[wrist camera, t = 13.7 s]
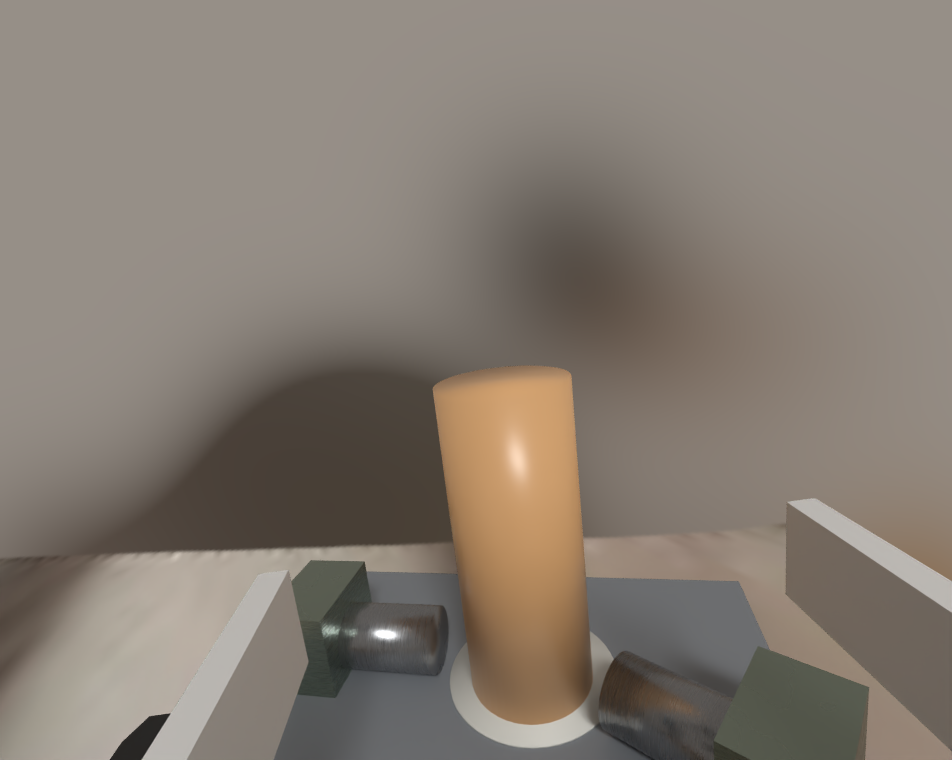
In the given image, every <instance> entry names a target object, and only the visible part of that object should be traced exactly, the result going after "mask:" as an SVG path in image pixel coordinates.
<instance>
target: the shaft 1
mask: <svg viewBox="0 0 952 760" xmlns="http://www.w3.org/2000/svg"><path fill="white" fill-rule="evenodd" d="M291 583H292V588H293V593H294V597H295V602H296V606H297V611H298V616H299V620H300V625H301V629H302V634H303V639H304V643H305V648H306V652H307V657H308V665H307V668H306V670H305V673H304V676H303V679H302V682H301V684H300V687H299V690H298V693H297V695H306V696H317V697H328V698H336V697H337V695H338V693H339V692H340V690H341V688H342V686H343V685H344V683H345V681H346V680H347V678H348V676H349V674H350V673H351V671H352V669H359V670H372V671H385V672H398V673H411V674H424V675H439V674H440V672H441V670H442V668H443V666H444V663H445V659H446V654H447V648H448V637H449V626H448V617H447V612H446V609H445V607H444V606H442V605H424V604H400V603H376V602H372V600H371V594H370V589H369V583H368V578H367V572H366V567H365V562H360V561H313V560H311V561H310V562H309V563H308V564H307V565H306V566H305V567H304V569H303V570H302V571H301V572H300V573H299V574H298V575H297V576H296V577H295V578H294V579H293V580H292V582H291Z"/></svg>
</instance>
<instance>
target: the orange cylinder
mask: <svg viewBox="0 0 952 760" xmlns="http://www.w3.org/2000/svg"><path fill="white" fill-rule="evenodd" d="M433 394H434V401H435V408H436V416H437V423H438V431H439V438H440V446H441V453H442V461H443V467H444V475H445V483H446V490H447V498H448V505H449V513H450V520H451V528H452V535H453V543H454V550H455V557H456V565H457V572H458V580H459V587H460V595H461V602H462V609H463V617H464V624H465V632H466V639H467V646H468V654H469V661H470V669H471V676H472V684H473V688H474V691H475V694H476V696H477V698H478V699H479V701H480V702H481V703H482V704H483V706H484V707H485V708H486V709H488V710H489V711H490V712H491V713H493V714H494V715H496V716H498V717H499V718H502V719H504V720H506V721H510V722H513V723H517V724H523V725H539V724H546V723H551V722H554V721H557V720H560V719H562V718H564V717H566V716H568V715H569V714H571V713H573V712H574V711H575V710H576V709H578V708H579V707H580V706H581V705H582V703H583V702H584V701H585V700H586V698H587V697H588V695H589V693H590V690H591V687H592V683H593V669H592V655H591V641H590V627H589V614H588V600H587V586H586V572H585V559H584V545H583V532H582V519H581V505H580V490H579V477H578V463H577V450H576V435H575V422H574V408H573V396H572V380H571V374H570V373H569V372H568V371H566V370H563V369H559V368H555V367H547V366H508V367H498V368H490V369H483V370H477V371H472V372H468V373H464V374H460V375H456V376H453V377H450V378H447V379H445V380H443V381H441V382H439V383H438V384H436V385H435V386H434V388H433Z"/></svg>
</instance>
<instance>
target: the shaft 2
mask: <svg viewBox="0 0 952 760" xmlns="http://www.w3.org/2000/svg"><path fill="white" fill-rule="evenodd" d="M868 697H869V687H867V686H864V685H861V684H859V683H856V682H853V681H851V680H848V679H845V678H843V677H840V676H837V675H835V674H832V673H829V672H827V671H824V670H821V669H819V668H816V667H813V666H810V665H808V664H805V663H802V662H800V661H797V660H794V659H792V658H789V657H786V656H784V655H781V654H778V653H776V652H773V651H770V650H768V649H765V648H762V647H760V646H758V647H757V649H756V651H755V653H754V655H753V657H752V659H751V662H750V664H749V666H748V668H747V670H746V672H745V674H744V677H743V679H742V681H741V683H740V685H739V687H738V689H737V692H736V694H735V696H734V698H731V697H729V696H727V695H724V694H722V693H720V692H718V691H715V690H713V689H711V688H709V687H707V686H704V685H702V684H700V683H698V682H695V681H693V680H691V679H689V678H687V677H684V676H682V675H680V674H678V673H676V672H673V671H671V670H669V669H667V668H664V667H662V666H660V665H658V664H656V663H653V662H651V661H649V660H647V659H644V658H642V657H640V656H638V655H636V654H633V653H631V652H629V651H622V652H620V653H619V654H618V655H617V656H616V657H615V658H614V660H613V661H612V663H611V665H610V667H609V669H608V671H607V673H606V675H605V678H604V681H603V684H602V688H601V692H600V697H599V705H598V717H599V722H600V725H601V727H602V729H604V730H605V731H607V732H609V733H610V734H612V735H614V736H615V737H617V738H619V739H621V740H622V741H624V742H626V743H627V744H629V745H631V746H633V747H634V748H636V749H638V750H639V751H641V752H643V753H645V754H646V755H648V756H650V757H651V758H653V759H655V760H865V751H866V733H867V715H868Z"/></svg>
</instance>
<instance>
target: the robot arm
mask: <svg viewBox="0 0 952 760" xmlns="http://www.w3.org/2000/svg"><path fill="white" fill-rule="evenodd" d="M786 595H787V596H788V597H789V598H790V599H791V600H792V601H793V602H794V603H795V604H797V605H798V606H799V607H800V608H801V609H802V610H803V611H804V612H805V613H806V614H807V615H808V616H809V617H810V618H811V619H812V620H813V621H815V622H816V623H817V624H818V625H819V626H820V627H821V628H822V629H823V630H824V631H825V632H826V633H827V634H828V635H829V636H830V637H831V638H833V639H834V640H835V641H836V642H837V643H838V644H839V645H840V646H841V647H842V648H843V649H844V650H845V651H846V652H847V653H848V654H849V655H851V656H852V657H853V658H854V659H855V660H856V661H857V662H858V663H859V664H860V665H861V666H862V667H863V668H864V669H865V670H866V671H867V672H869V673H870V674H871V675H872V676H873V677H874V678H875V679H876V680H877V681H878V682H879V683H880V684H881V685H882V686H883V687H884V688H885V689H887V690H888V691H889V692H890V693H891V694H892V695H893V696H894V697H895V698H896V699H897V700H898V701H899V702H900V703H901V704H902V705H903V706H905V707H906V708H907V709H908V710H909V711H910V712H911V713H912V714H913V715H914V716H915V717H916V718H917V719H918V720H919V721H920V722H921V723H922V724H924V725H925V726H926V727H927V728H928V729H929V730H930V731H931V732H932V733H933V734H934V735H935V736H936V737H937V738H938V739H939V740H940V741H942V742H943V743H944V744H945V745H946V746H947V747H948V748H949V749H950V750H951V751H952V581H950V580H949V579H947V578H945V577H944V576H942V575H940V574H939V573H937V572H935V571H934V570H932V569H930V568H929V567H927V566H925V565H924V564H922V563H921V562H919V561H917V560H916V559H914V558H912V557H911V556H909V555H907V554H906V553H904V552H903V551H901V550H899V549H898V548H896V547H894V546H893V545H891V544H889V543H888V542H886V541H884V540H883V539H881V538H879V537H878V536H876V535H875V534H873V533H871V532H870V531H868V530H866V529H865V528H863V527H861V526H860V525H858V524H856V523H855V522H853V521H852V520H850V519H848V518H846V517H845V516H843V515H842V514H840V513H838V512H837V511H835V510H833V509H832V508H830V507H829V506H827V505H825V504H824V503H822V502H820V501H819V500H817V499H815V498H812V499H805V500H798V501H790V502H787V519H786ZM307 665H308V657H307V652H306V648H305V643H304V639H303V634H302V629H301V625H300V620H299V616H298V611H297V606H296V602H295V597H294V593H293V588H292V583H291V579H290V574H289V570H285V571H278V572H270V573H263V574H258V576H257V577H256V579H255V581H254V582H253V584H252V585H251V587H250V589H249V590H248V592H247V593H246V595H245V597H244V598H243V600H242V601H241V603H240V604H239V606H238V608H237V609H236V611H235V612H234V614H233V616H232V617H231V619H230V620H229V622H228V623H227V625H226V627H225V628H224V630H223V631H222V633H221V635H220V636H219V638H218V639H217V641H216V643H215V644H214V646H213V647H212V649H211V650H210V652H209V654H208V655H207V657H206V658H205V660H204V662H203V663H202V665H201V666H200V668H199V670H198V671H197V673H196V674H195V676H194V677H193V679H192V681H191V682H190V684H189V685H188V687H187V689H186V690H185V692H184V693H183V695H182V696H181V698H180V700H179V701H178V703H177V704H176V706H175V708H174V709H173V711H172V712H171V713H170V714H163V715H156V716H149V717H148V718H147V719H146V720H145V721H144V722H143V723H142V724H141V725H140V726H139V727H138V728H137V729H135V730H134V731H133V732H132V733H131V734H130V735H129V736H128V737H127V738H126V739H125V740H124V741H123V742H122V743H121V744H120V746H119V747H118V749H117V750H116V751H115V753H114V754H113V756H112V757H111V759H110V760H274V757H275V754H276V751H277V749H278V746H279V743H280V740H281V737H282V735H283V732H284V729H285V726H286V724H287V721H288V718H289V715H290V712H291V710H292V707H293V704H294V701H295V698H296V696H297V693H298V690H299V687H300V684H301V682H302V679H303V676H304V673H305V670H306V668H307Z"/></svg>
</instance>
